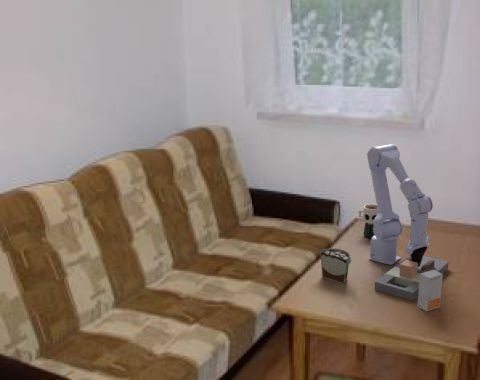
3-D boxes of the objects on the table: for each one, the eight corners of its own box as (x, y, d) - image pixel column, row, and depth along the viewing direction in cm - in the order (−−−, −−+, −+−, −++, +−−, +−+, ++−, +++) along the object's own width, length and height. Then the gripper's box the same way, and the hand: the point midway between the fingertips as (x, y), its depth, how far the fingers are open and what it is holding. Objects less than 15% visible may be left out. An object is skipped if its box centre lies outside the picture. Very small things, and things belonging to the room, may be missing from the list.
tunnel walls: (400, 268, 226) (401, 261, 225) (410, 260, 232) (410, 254, 231) (424, 274, 221) (425, 268, 220) (434, 266, 226) (434, 260, 226)
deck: (374, 289, 217) (374, 281, 216) (411, 260, 239) (412, 253, 239) (412, 300, 209) (413, 292, 208) (447, 269, 231) (448, 261, 230)
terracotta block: (399, 276, 220) (400, 264, 219) (405, 271, 224) (405, 259, 222) (411, 279, 217) (412, 267, 216) (417, 274, 221) (417, 262, 219)
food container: (357, 279, 225) (358, 253, 222) (347, 285, 221) (348, 259, 218) (328, 270, 233) (329, 245, 230) (319, 275, 229) (319, 250, 226)
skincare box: (426, 312, 201) (428, 278, 198) (417, 306, 205) (419, 273, 201) (440, 307, 204) (443, 273, 200) (431, 302, 208) (433, 269, 204)
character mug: (356, 237, 262) (357, 208, 258) (359, 231, 269) (360, 202, 265) (383, 240, 259) (384, 210, 255) (385, 234, 265) (386, 205, 261)
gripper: (420, 239, 213) (418, 275, 217) (438, 226, 224) (435, 261, 228) (401, 234, 218) (399, 270, 222) (419, 222, 228) (417, 256, 232)
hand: (416, 265), depth 225 cm, fingers closed
